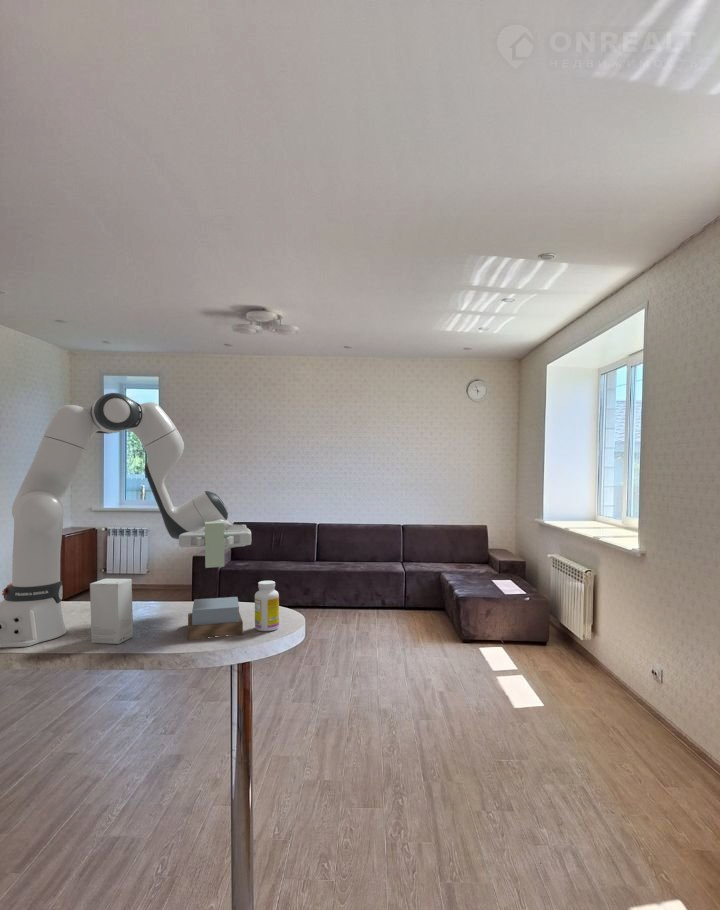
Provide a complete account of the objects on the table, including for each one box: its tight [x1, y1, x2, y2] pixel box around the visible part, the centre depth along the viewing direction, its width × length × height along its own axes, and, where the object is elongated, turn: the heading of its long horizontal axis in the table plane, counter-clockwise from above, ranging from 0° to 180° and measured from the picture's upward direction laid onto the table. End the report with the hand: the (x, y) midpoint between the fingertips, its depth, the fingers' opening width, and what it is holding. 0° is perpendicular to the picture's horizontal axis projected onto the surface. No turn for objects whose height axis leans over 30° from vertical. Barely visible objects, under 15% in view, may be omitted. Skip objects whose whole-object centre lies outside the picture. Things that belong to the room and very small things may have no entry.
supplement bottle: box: [254, 580, 280, 632], centre depth 149 cm, size 7×7×13 cm
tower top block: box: [191, 596, 240, 626], centre depth 148 cm, size 12×12×4 cm
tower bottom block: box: [187, 612, 244, 641], centre depth 148 cm, size 14×14×4 cm
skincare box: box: [89, 578, 134, 645], centre depth 140 cm, size 8×7×16 cm
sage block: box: [204, 521, 225, 569], centre depth 149 cm, size 5×5×12 cm
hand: (214, 542), depth 148 cm, fingers closed on sage block, 5 cm apart
